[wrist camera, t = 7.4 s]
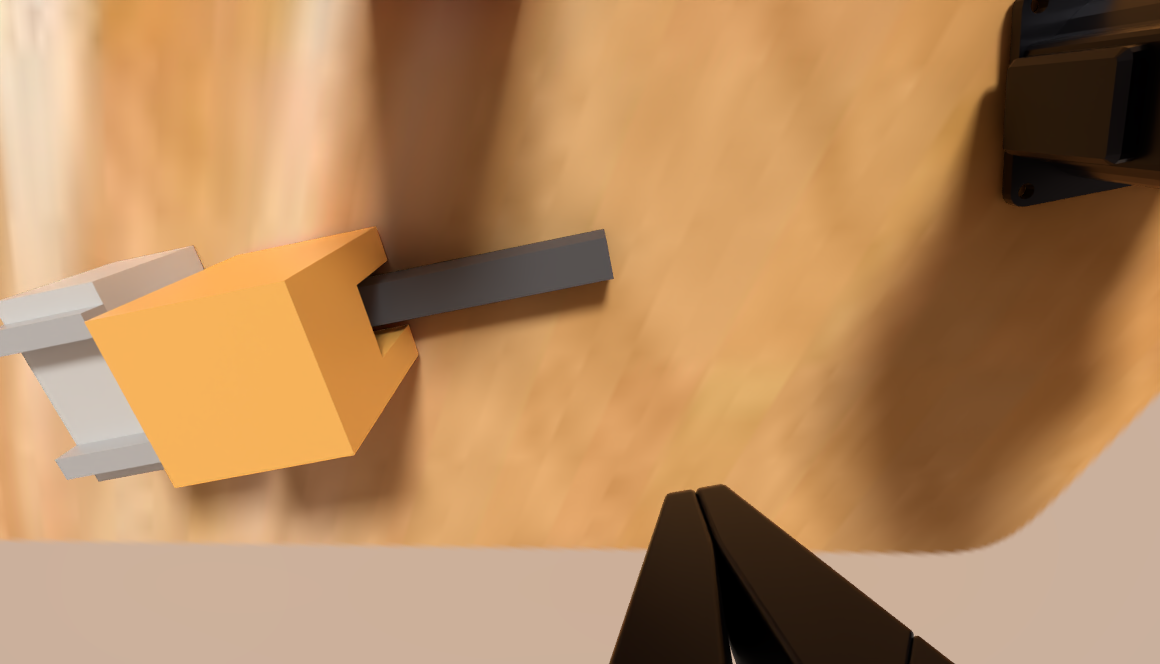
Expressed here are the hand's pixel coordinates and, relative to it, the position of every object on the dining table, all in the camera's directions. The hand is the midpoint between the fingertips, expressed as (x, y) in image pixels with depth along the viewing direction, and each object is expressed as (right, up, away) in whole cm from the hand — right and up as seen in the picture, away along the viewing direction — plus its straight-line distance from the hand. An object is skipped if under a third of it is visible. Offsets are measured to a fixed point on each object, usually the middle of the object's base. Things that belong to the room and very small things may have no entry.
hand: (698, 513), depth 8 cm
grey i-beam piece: (-16, +3, +13) cm, 21 cm away
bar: (-9, +4, +12) cm, 16 cm away
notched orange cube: (-11, +4, +12) cm, 17 cm away
